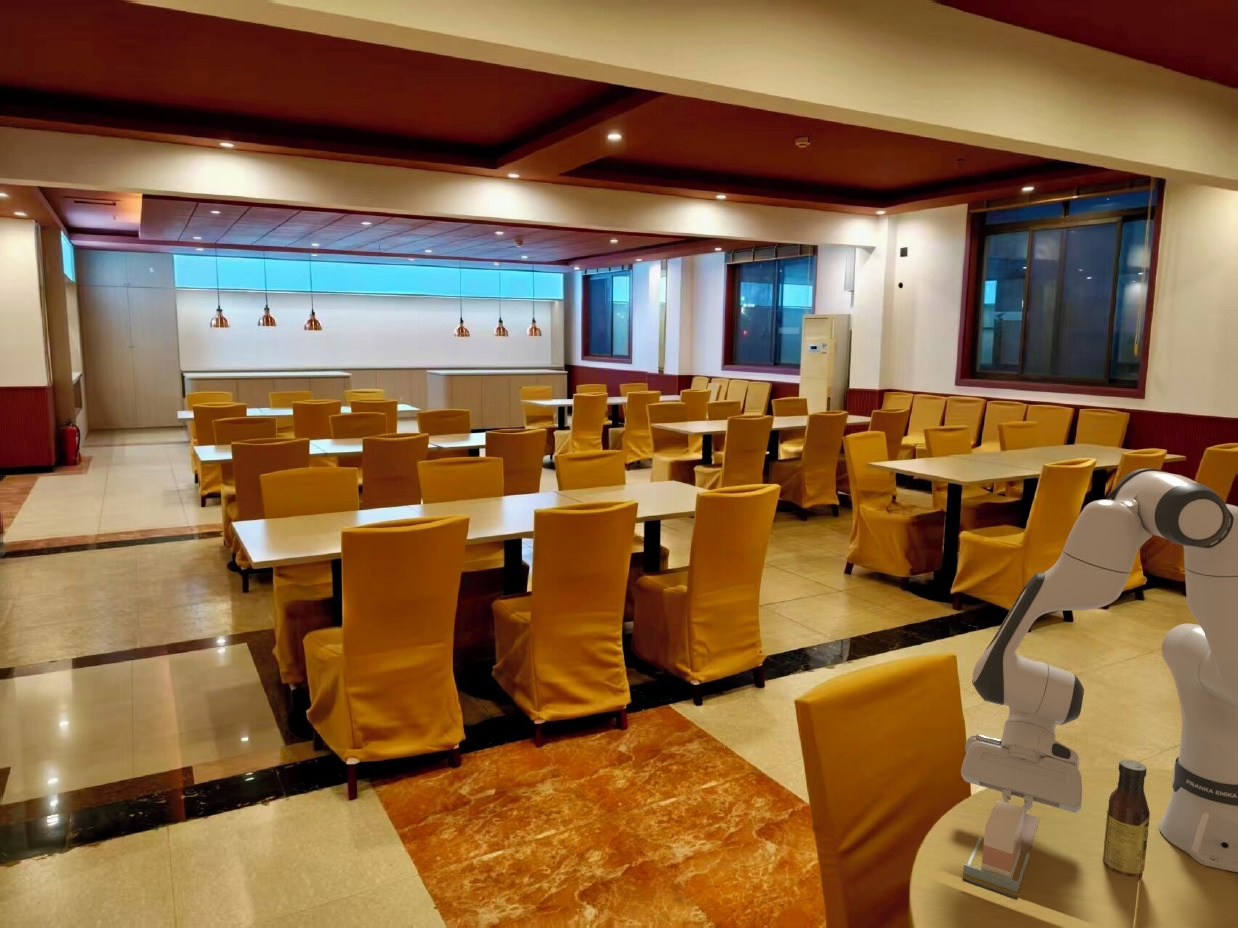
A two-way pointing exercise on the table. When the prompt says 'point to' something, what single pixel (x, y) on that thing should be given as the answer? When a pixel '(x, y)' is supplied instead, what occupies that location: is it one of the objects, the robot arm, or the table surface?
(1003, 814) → the tile stack
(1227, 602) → the robot arm
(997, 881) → the tray
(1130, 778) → the sauce bottle
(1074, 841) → the table surface
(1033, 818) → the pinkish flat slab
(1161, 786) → the table surface
